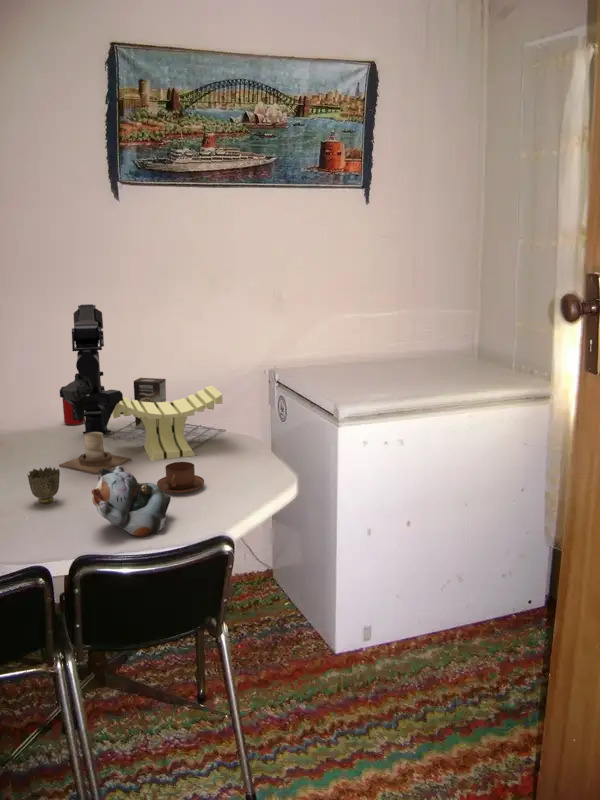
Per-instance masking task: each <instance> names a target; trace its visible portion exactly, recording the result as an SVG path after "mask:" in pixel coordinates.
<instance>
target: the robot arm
mask: <svg viewBox="0 0 600 800" xmlns="http://www.w3.org/2000/svg"><path fill="white" fill-rule="evenodd" d="M102 329H104V320H103V312H102V311H101V310H99V309H98V308H97V307H96V304H92V303H90V304H88V303H87V304H86V303H85V304H80V305H77V310H75V311H74V312H73V327H72V328H71V344H72V345H71V346H72V349H71V350H72V352H77V354H76V355H77V359H76V363H75V369H76V370H77V372H76V373H74V374H75V375H74V380H73V381H71V382H69V383H68V384H67V385H65V386H61V388H60V389H59V398H64V400H65V401H67V402H69V403H70V404H71V406H72V407H73V409H74V412H75V414H76V416H77V418H78V421H79V422H82V421H83V417H84V416H85V421H84V427H85V430H84V431H82V434H84V435H85V434H86V433H90V432H101V433H103V435H105V434H107V433H110V432H112V430H111V429H109V428H108V424H109V422H110V419H111V417H112V416H113V415H112V412H113V410H114V408H115V406H116V405H117V404H118V403H120V401H122V400H123V397H124V395H123V392H122V391H121V390H118V389H107V390H105V386H104V385H102V382H101V381H102V380H101V377H103V376H104V371H101V368H100V367H101V365H100V353H99V352H100V351H103V347H105V341H104V330H102Z"/></svg>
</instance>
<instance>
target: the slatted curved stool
mask: <svg viewBox="0 0 600 800" xmlns="http://www.w3.org/2000/svg"><path fill="white" fill-rule="evenodd" d="M223 403H224V402H223V393H222V392H221V391H219V390H218V389H217V388H216V387H215V386H214V385H208V386H206V387H204V390H203V389H200V390H198V391H195V393H194V394H193V393H192V394H190V395H187V396H186V398H185V397H183V398H179V399H178V398H177V399H174V400H171V402H170V401H166V402H156V404H154V403H153V402H141V405H140V404H139V402H138V400H134V398H133V399H129V397H126V396H123V400H122V401H120V403H118V404H117V405H116V406H115V408H114V410H113V412H112V415H111V416H112V418H113V419H118V418H121V415H123V417H130V416H131V415H132V416H133V417H134V418H135V417H138V418H140V417H141V419H142V421H143V423H144V426H145V429H144V430H145V433H146V435H145V436H146V437H145V441H144V450H145V452H146V454H147V456H148V458H149V460H150V461H157V460H158V461H159V460H164V459H167V460H168V459H176V458H177V459H179V458H181V457H183V458H186V457H187V458H188V457H196V454H195V452H194V451H193V449H192V448H191V446H190V444H189V442H188V440H187V439H186V437H185V434H184V433H185V432H184V429H185V425H186V422H187V420H188V417H192V416H193V417H194V416H195V412H197V413H200V412H205V410H206V409H208V410H212V411H213V410H215V405H221V404H223ZM156 419H157V427H156Z"/></svg>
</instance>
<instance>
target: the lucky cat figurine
mask: <svg viewBox="0 0 600 800" xmlns="http://www.w3.org/2000/svg"><path fill="white" fill-rule="evenodd" d="M164 492H165V491H162V490H161V488H160V487H159V486H157V484H156V483H153V482H138V480H137V479H136V477H135V475H134V474H132V473H131V472H127V471H125V470H124V468H123V467H122V466H121V465H119V466H117V467H115V469H114V470H113V471H111V470H110V469H109V470H106V469H100V470H99V475H98V481H97V485H96V487H95V488H94V489H92V490H91V494H92V497H91V498H92V499H91V500H92V501H91V502H92V504H93V505H94V506H95V507H96V511H97V512H98V514H100V516H101V517H102V518H104V519H106V520H107V521H108V522H109V523H110V525H111V526H114V527H115V526H116V527H117V528H120V529H122V530H124V531H126V532H127V533H129V534H131V535H133V536H135V537H138V538H144V537H148V536H153V535H155V534H157V532H159V531H161V530H162V529H164V527H165V525H166V521H167V517H166V516H167V511H168V508H169V505H170V503H171V499H172V498H171V495H169V494H166V493H164Z"/></svg>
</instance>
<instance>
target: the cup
mask: <svg viewBox="0 0 600 800" xmlns="http://www.w3.org/2000/svg"><path fill="white" fill-rule="evenodd" d="M28 473H29V474H28ZM28 473H27V475H26V476H27V479H28V483H29V487H30V491H31V493H32V495H33V496H34V497H35V498H37V500H38V504H41V505H49V504H51V503H53V502H54V500H55V498H54V497H55V496H56V495H57V494H58V492H59V488H60V473H61V472H60V469H59V468H57V469H56V467H53V468H52V467H47V466H45V467H44V469H42V468H41V467H39V469H35V468H33V469H32V470H29V472H28Z"/></svg>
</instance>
